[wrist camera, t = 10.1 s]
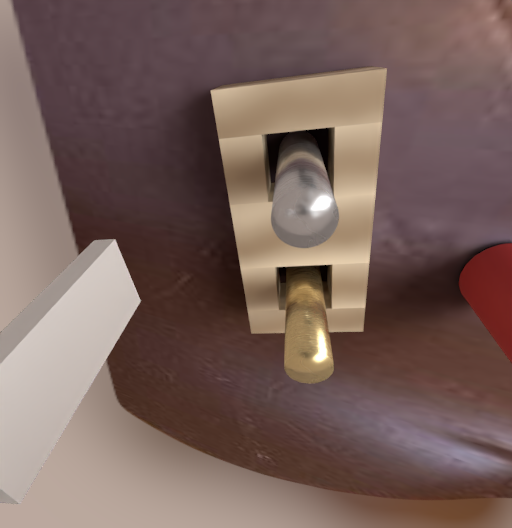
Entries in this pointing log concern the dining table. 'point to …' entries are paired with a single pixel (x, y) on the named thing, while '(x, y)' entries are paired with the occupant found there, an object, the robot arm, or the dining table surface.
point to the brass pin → (306, 326)
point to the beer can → (491, 292)
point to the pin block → (339, 173)
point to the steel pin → (302, 194)
